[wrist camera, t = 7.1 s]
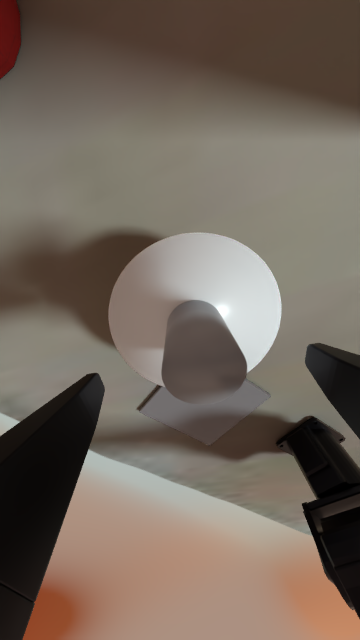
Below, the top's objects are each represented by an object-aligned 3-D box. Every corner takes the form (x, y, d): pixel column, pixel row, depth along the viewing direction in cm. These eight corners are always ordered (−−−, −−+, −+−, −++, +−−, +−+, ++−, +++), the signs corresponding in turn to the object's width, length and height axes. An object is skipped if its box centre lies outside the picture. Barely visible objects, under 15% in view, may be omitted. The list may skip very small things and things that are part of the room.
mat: (269, 393, 21) (270, 396, 21) (209, 442, 25) (209, 445, 24) (195, 346, 19) (196, 348, 18) (139, 409, 22) (139, 412, 22)
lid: (309, 305, 12) (397, 349, 7) (204, 403, 16) (216, 476, 11) (176, 185, 9) (174, 127, 4) (84, 336, 13) (28, 395, 8)
